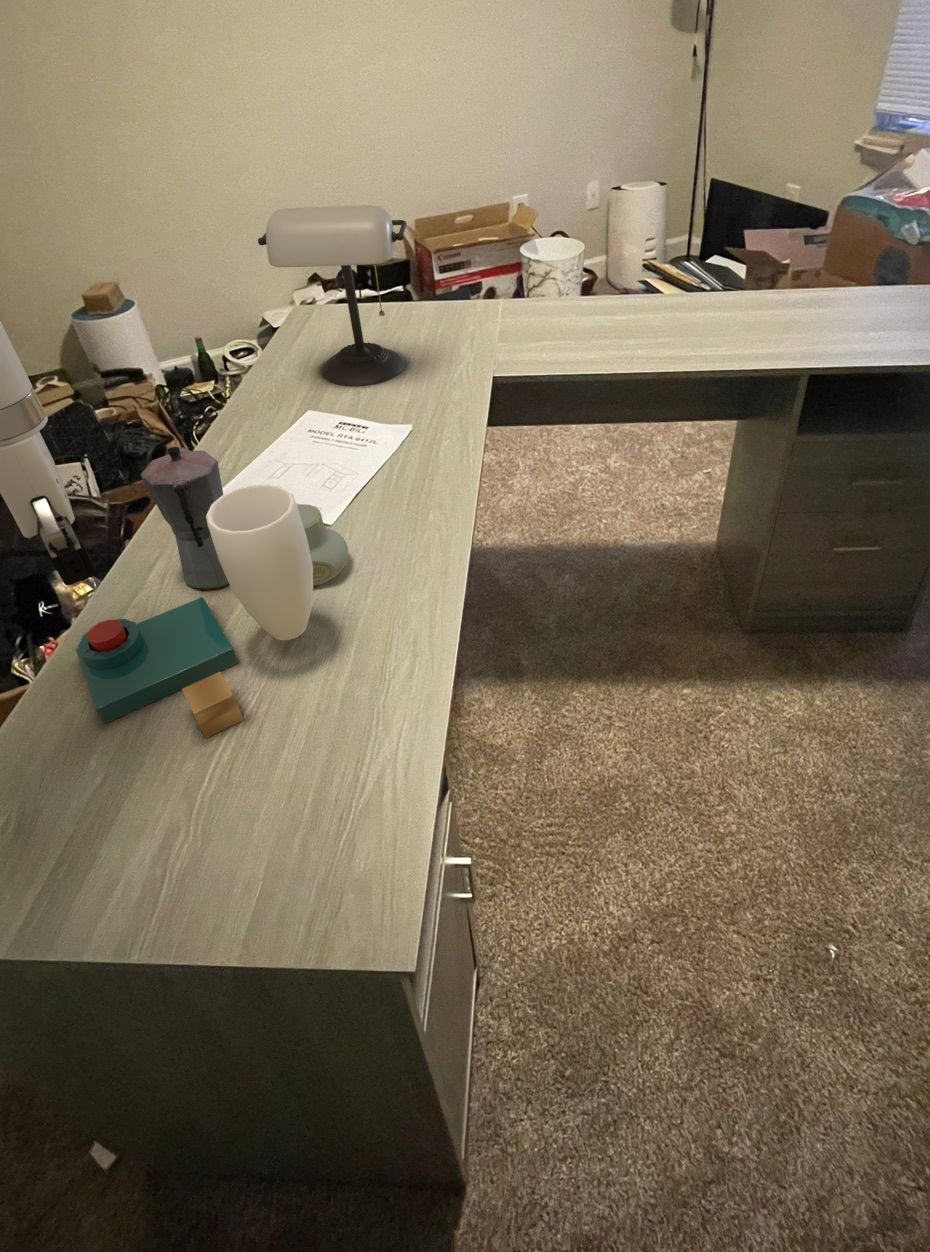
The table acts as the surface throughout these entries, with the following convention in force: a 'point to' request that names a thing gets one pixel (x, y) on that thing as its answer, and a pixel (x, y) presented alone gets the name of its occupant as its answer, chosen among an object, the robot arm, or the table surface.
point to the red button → (107, 635)
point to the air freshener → (323, 545)
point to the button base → (155, 659)
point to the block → (213, 704)
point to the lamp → (342, 243)
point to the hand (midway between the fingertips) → (73, 555)
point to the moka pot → (189, 510)
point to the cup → (265, 556)
